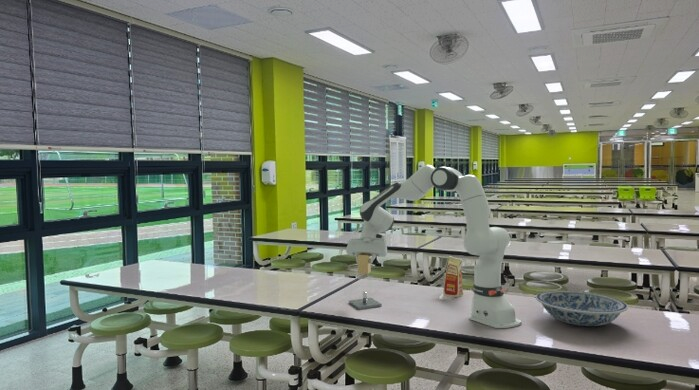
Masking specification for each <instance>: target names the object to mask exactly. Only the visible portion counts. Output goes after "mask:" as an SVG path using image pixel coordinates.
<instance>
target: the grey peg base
mask: <svg viewBox="0 0 699 390" xmlns="http://www.w3.org/2000/svg"><path fill="white" fill-rule="evenodd" d="M348 303H349V304H350V305H351V306H352V307H354V308H355V309H357V310H358V311H359V310H366V309H373V308H378V307H380V308H381V307H382V303H381V302H379V301H378V300H376V299H375V298H373V297H368V291H362V298H359V299H350V300H348Z"/></svg>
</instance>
